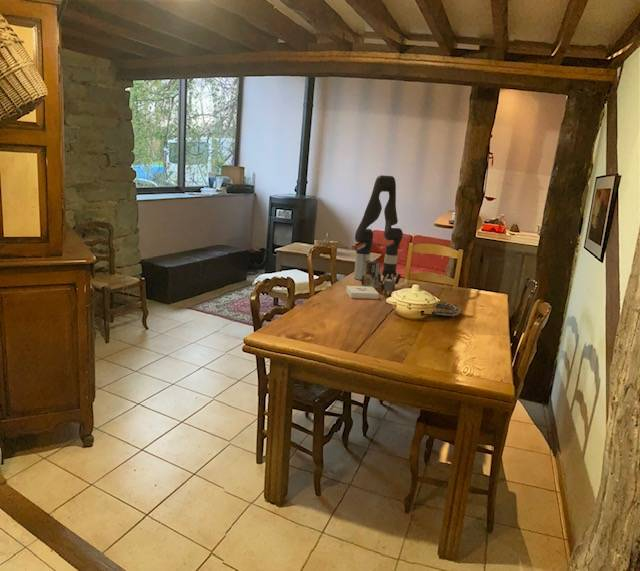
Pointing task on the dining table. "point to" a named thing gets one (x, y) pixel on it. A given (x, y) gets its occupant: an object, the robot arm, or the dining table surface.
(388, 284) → the plug
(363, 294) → the socket board
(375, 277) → the coffee box
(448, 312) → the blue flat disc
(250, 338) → the dining table surface
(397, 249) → the robot arm
